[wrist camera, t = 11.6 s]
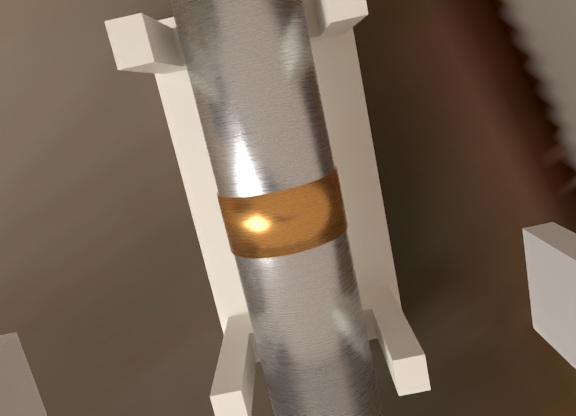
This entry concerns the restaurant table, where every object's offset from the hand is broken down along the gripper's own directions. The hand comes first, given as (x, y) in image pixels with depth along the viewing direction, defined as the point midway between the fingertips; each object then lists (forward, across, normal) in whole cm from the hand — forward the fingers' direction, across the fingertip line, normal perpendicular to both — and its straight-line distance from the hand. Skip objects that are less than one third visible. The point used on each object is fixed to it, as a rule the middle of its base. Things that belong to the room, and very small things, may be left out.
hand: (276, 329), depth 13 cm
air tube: (+17, 0, 0) cm, 17 cm away
